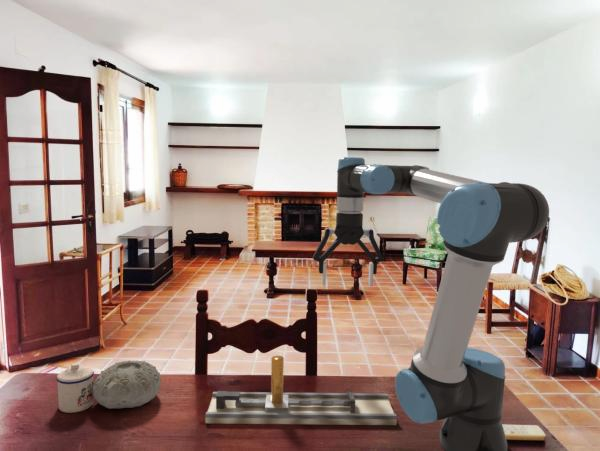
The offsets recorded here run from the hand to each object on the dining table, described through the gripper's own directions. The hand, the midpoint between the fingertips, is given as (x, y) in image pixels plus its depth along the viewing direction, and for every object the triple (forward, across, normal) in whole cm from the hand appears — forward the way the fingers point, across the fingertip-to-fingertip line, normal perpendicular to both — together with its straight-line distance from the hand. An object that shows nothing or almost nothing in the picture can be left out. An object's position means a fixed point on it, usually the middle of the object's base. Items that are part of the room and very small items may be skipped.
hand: (347, 284), depth 137 cm
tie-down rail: (+32, +13, +14) cm, 37 cm away
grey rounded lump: (+32, +61, +9) cm, 69 cm away
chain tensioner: (+30, +15, +14) cm, 36 cm away
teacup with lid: (+32, +74, +10) cm, 81 cm away
